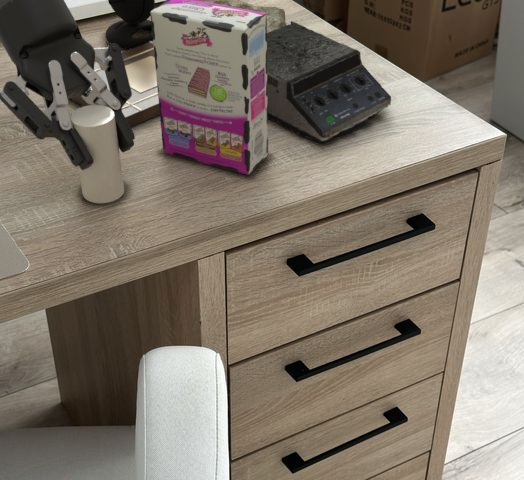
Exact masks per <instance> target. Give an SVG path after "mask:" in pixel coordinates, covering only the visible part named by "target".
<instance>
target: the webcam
mask: <svg viewBox="0 0 524 480" xmlns="http://www.w3.org/2000/svg"><path fill="white" fill-rule="evenodd" d="M107 2H108V5H110V7H111V8H112V10H113V12H114V13H115V14H116V15H117V16H118V17H119V18H120V19H122V20H119V21H116V22H114V23H112V24H110V25H109V26H108V27H107V29H106V30H105V38H106V41H107V42H108V43H109V45H111V44H112V43H115V44H117V45H119V47H120V49H122V50H123V49H125V50H126V49H127V50H130V49H133V48H135V47H138V46H141V45H143V44H146V43H149V41H153V34H152V24H151V20H150V19H149V18H151V14H150V12H151V11H152V10H154V9H155V3H156V0H107ZM141 31H146V32H149V33H148V34H145V35H143V36H139V37H138V36H137V37H134V36H135V35H136V34H138V32H141Z"/></svg>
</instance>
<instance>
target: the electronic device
mask: <svg viewBox="0 0 524 480" xmlns="http://www.w3.org/2000/svg"><path fill="white" fill-rule="evenodd" d="M391 103H392V96H391V95H390V94H389V92H388V91H387V90H386V89H385V88H384V87H383V86H382V85H381V84H380V82H379V81H378V80H377V79H376V78H375V77H374V76H373V75H372V74H371V73H370V71H369V70H368V69H367V68H366V66H365V65H364V64H363V62H362V58H361V51H359V50H358V49H355V48H353V47H351V46H348V45H347V44H344V43H341V42H338V41H337V40H334V39H332V38H330V37H328V36H326V35H324V34H322V33H319V32H316V31H314V30H313V29H310V28H307V27H306V26H304V25H301V24H299V23H297V22H294V21H293V20H291V21H290V23H289V24H287V25H286V26H284V27H281V28H280V29H276V30H274V31H271V32H268V33H267V109H268V111H267V114H268V120H270V121H273V122H276V123H278V124H279V125H281V127H283V128H284V129H286V130H288V131H293V132H294V133H296V134H298V135H299V136H300V137H303V138H304V137H305V138H309V139H311V140H313V141H315V142H317V143H326V142H329V141H331V140H332V139H333V138H338V137H340V136H344V135H347V134H350V133H352V132H353V131H356V130H357V129H359V128H361V127H363V126H364V125H365V124H366V123H367V120H368V119H369V118H370V117H372V116H373V115H374V114H377V113H380V112H381V111H383V110H385V109H387V108H389V106H390V105H391Z"/></svg>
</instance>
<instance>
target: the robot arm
mask: <svg viewBox="0 0 524 480" xmlns="http://www.w3.org/2000/svg"><path fill="white" fill-rule="evenodd" d="M0 42H1V45H2V47H3V48H4V50H5V52H6V54H7V55H8V57H9V58H10V60H11V62H12V63H13V64H14V65H15V68H16V72H17V73H16V78H15V79H13V80H10V81H9V80H8V81H7V82H6V83H5V84H4V86H3V88H2V89H1V91H0V101H1V102H2V103H3V105H5V107H7V109H8V110H10V112H11V113H12V114H13V115H14V116H15V117H16V118H17V119H18V120H19V121H20V122H21V123H22V124H23V125H24V126H25V127H26V128H27V129H28V130H29V131H30V132H31V134H32V135H33V136H34V137H35V138H37V140H45V139H47V138H53V139H56V140H58V141H59V143H60V145H61V147H62V148H63V150H64V152H65V153H66V155H67V157H68V158H69V160H70V162H71V164H72V165H73V166H75V167H77V168H78V166H79V167H80V169H81V170H85V169H87V168H89V167H90V166H91V165H92V164H93V158H92V156H91V154H90V153H89V151H88V149H87V147H86V145H85V144H84V142H83V140H82V138H81V137H80V135H79V133H78V132H77V130H76V128H75V129H72V123H71V119H70V116H71V114H70V111H69V99H70V98H73V97H79V96H81V97H82V98H83V99H84V100H85V101H86V102H87V103H88V104H90V105H102V106H107V107H109V108H111V109H112V110H113V111H114V113H115V121H116V129H117V136H118V144H119V151H120V152H121V153H126V152H129V151H130V150H131V149H132V148H133V147H134V145H135V141H134V140H135V139H136V136H135V132H134V130H133V128H132V127H130V125H129V123H128V122H127V120H126V118H125V116H124V114H123V112H122V107H123V105H124V104H125V103H126V102H127V100H129V99H130V97H131V96H132V92H131V88H130V84H129V80H128V76H127V72H126V69H125V65H124V61H123V57H122V50H121V49H122V48H120V47H119V45H117V44H115V43H112V44H109V46H108V47H93V45H91V43H89V42H88V41H87V40H86V39H85V38H84V37H83V36H82V33H81V30H80V27H79V25H78V23H77V21H76V19H75V17H74V16H73V14H72V12H71V10H70V8H69V7H68V5H67V3H66V1H65V0H0ZM96 62H97V63H98V64H99V66H100V69H101V70H105V73H106V77H107V81H108V85H109V89H110V91H109V90H108V88H107V85H106V83H105V82H104V81H103V80H102V79H101V77H100V76H99V75H98V74H97V73H96V72H95V71H94V63H96ZM90 86H91V87H92V89H91V88H90ZM27 89H28V90H30V91H32V92H33V93H34V94H37V95H38V96H40V97H42V100H43V101H42V102H43V104H44V105H43V106H44V108H45V113H44V111H42V110H41V108H40V107H39V106H38V105H37V104H36V103H35V102H34V101H33V100H32V99H31V97H29V96H30V93H29V91H28V90H27Z"/></svg>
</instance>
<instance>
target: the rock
mask: <svg viewBox="0 0 524 480" xmlns="http://www.w3.org/2000/svg"><path fill="white" fill-rule="evenodd" d="M212 3H215V4H220V5H226V6H231V7H236V8H242V9H247V10H251V11H257V12H262V13H267V17H266V20H267V33H268V32H271V31H274V30H276V29H280V28H281V27H284V26H286V25H288V24H287V23H286V12H285V9H284V8H280V7H278V6H263V5H255V4H253V3H248V2H246V1H243V0H214V1H212Z"/></svg>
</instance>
